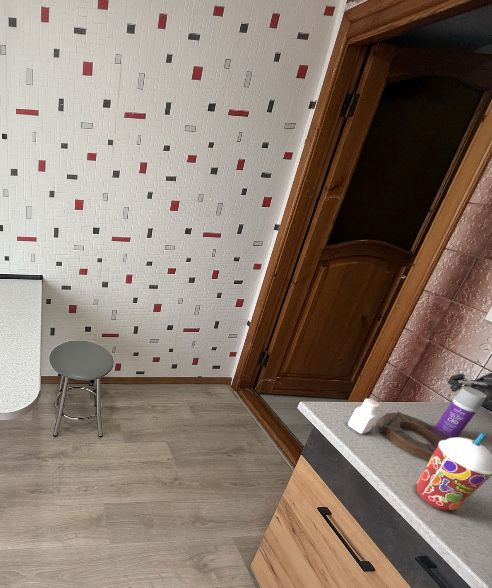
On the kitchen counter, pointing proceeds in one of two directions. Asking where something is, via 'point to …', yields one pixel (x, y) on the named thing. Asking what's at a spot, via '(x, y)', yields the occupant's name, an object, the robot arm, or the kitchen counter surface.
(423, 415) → the kitchen counter surface
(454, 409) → the container
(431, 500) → the smoothie
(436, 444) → the collar
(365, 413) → the pepper shaker
